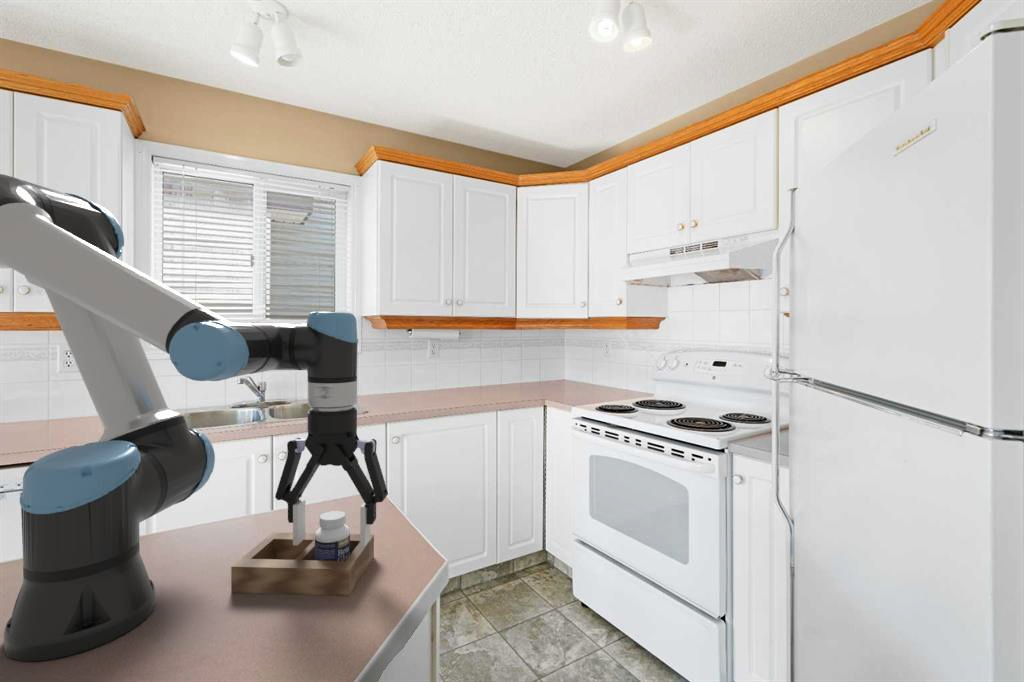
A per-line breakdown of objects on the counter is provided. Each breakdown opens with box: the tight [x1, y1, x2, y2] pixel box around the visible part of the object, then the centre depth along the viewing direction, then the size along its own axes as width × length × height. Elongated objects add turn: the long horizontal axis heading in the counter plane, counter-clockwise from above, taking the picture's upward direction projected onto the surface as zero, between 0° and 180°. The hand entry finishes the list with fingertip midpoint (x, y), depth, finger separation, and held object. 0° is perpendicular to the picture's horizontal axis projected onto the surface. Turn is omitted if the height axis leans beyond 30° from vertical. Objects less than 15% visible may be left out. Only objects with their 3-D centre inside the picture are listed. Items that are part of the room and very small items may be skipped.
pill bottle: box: [314, 510, 351, 561], centre depth 78 cm, size 5×5×10 cm
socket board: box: [230, 532, 375, 597], centre depth 78 cm, size 18×12×4 cm, turn 89°
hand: (332, 542), depth 78 cm, fingers open, 10 cm apart
